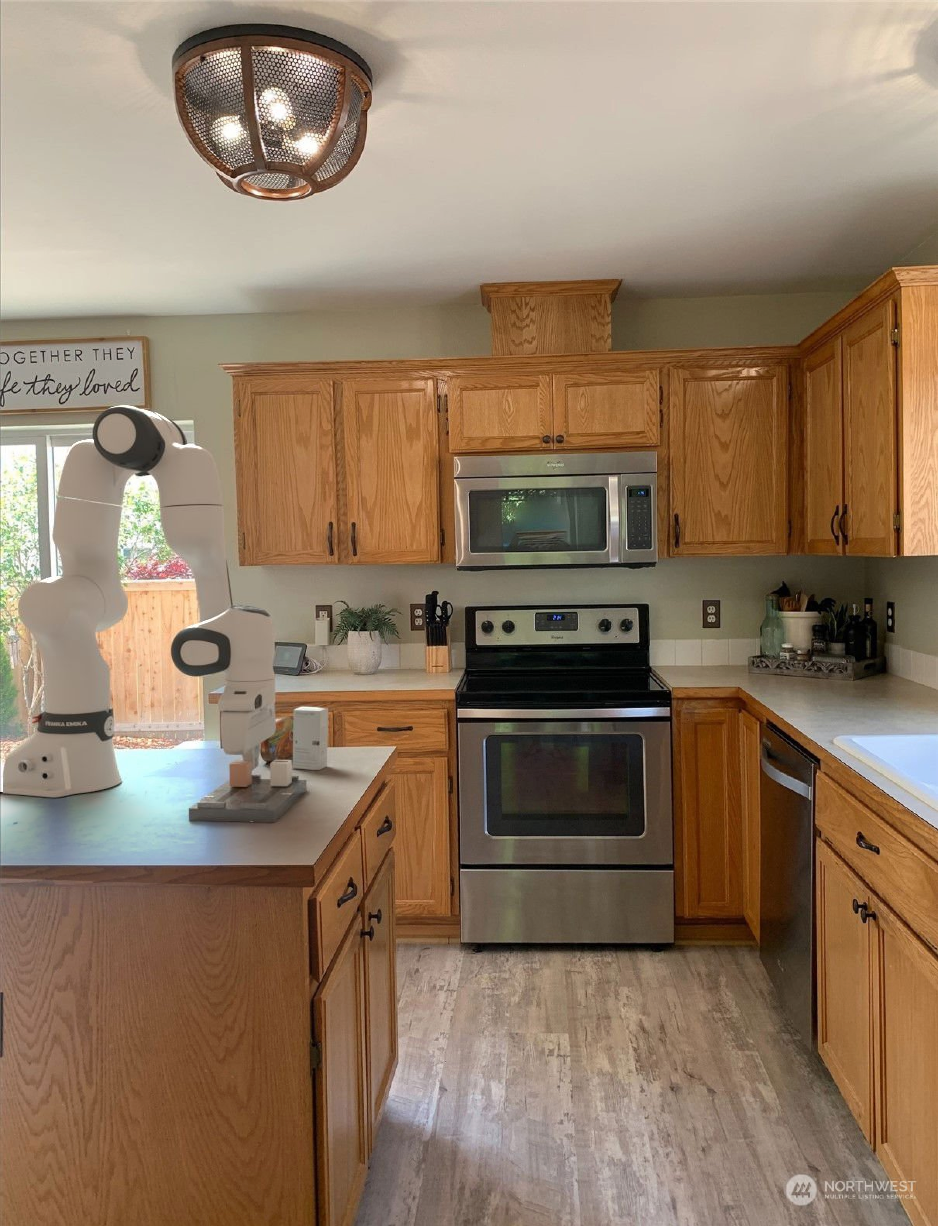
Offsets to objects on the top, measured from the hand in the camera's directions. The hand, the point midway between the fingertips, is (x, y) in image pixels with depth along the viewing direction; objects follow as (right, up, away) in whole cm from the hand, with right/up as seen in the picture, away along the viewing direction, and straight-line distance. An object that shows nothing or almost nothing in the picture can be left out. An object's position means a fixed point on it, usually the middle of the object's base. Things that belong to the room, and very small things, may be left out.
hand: (251, 769), depth 165 cm
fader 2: (+7, -2, -5) cm, 9 cm away
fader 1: (0, -2, -6) cm, 6 cm away
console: (+3, -4, -11) cm, 12 cm away
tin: (0, -2, +26) cm, 26 cm away
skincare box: (+8, -3, +17) cm, 19 cm away
